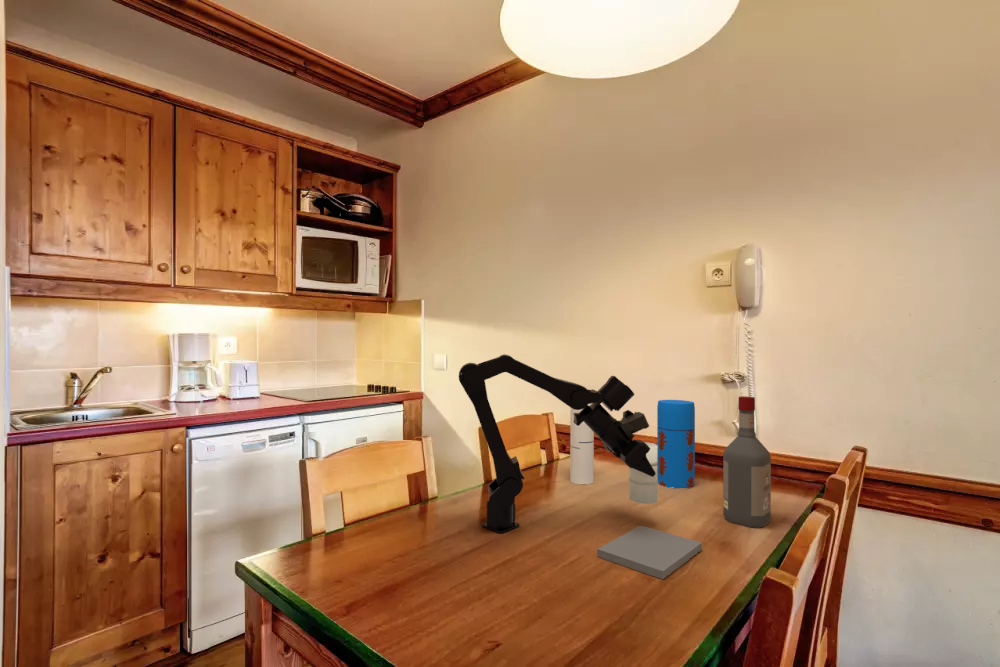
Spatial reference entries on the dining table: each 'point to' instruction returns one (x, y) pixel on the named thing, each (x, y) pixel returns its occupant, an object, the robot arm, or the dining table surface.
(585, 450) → the cylindrical container
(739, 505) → the liquor
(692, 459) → the thermos
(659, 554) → the shelf board
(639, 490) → the tumbler stack
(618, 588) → the dining table surface
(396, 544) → the dining table surface
